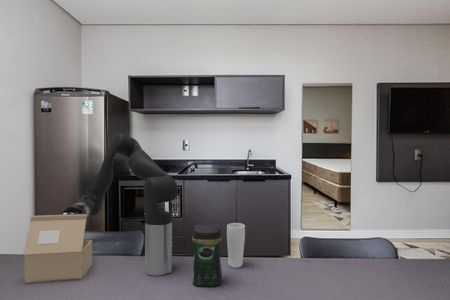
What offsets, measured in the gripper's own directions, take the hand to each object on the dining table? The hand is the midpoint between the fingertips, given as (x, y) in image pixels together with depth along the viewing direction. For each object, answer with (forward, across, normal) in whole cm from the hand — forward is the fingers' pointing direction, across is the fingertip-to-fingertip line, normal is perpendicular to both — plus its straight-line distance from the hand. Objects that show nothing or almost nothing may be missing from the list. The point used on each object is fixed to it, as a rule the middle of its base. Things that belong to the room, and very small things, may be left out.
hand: (58, 224), depth 96 cm
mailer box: (-2, 0, +17) cm, 17 cm away
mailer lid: (+1, 0, +3) cm, 3 cm away
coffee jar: (+11, +49, +18) cm, 53 cm away
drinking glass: (0, +61, +17) cm, 64 cm away
